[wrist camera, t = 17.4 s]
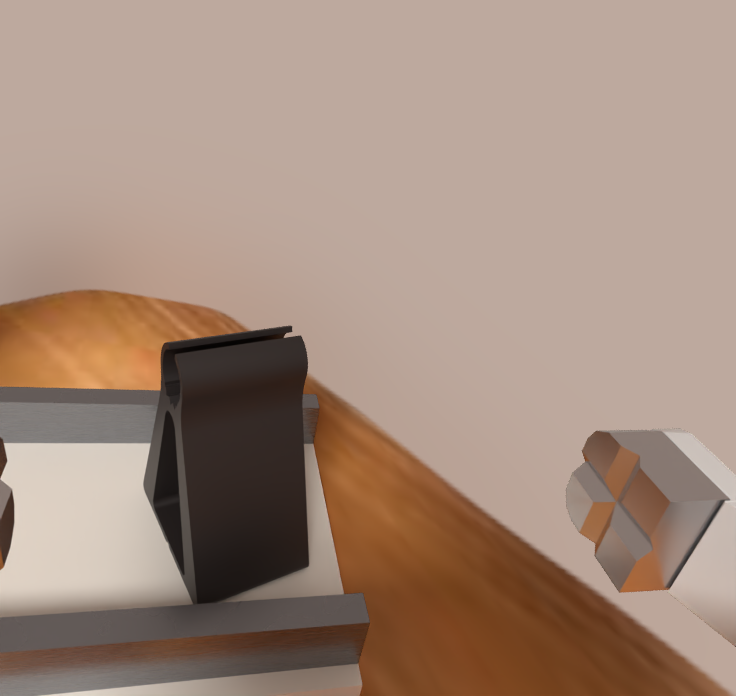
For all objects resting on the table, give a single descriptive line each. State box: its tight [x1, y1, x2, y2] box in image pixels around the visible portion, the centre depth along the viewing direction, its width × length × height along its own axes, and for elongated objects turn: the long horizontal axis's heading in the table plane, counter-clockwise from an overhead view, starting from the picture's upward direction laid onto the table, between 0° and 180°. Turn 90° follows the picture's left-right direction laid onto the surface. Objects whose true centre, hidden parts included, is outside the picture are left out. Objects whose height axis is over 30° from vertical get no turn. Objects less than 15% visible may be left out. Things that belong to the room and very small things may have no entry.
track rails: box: [0, 387, 370, 696], centre depth 31 cm, size 22×17×3 cm
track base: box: [0, 443, 362, 696], centre depth 32 cm, size 22×19×1 cm
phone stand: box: [143, 326, 309, 604], centre depth 30 cm, size 9×6×12 cm, turn 33°
